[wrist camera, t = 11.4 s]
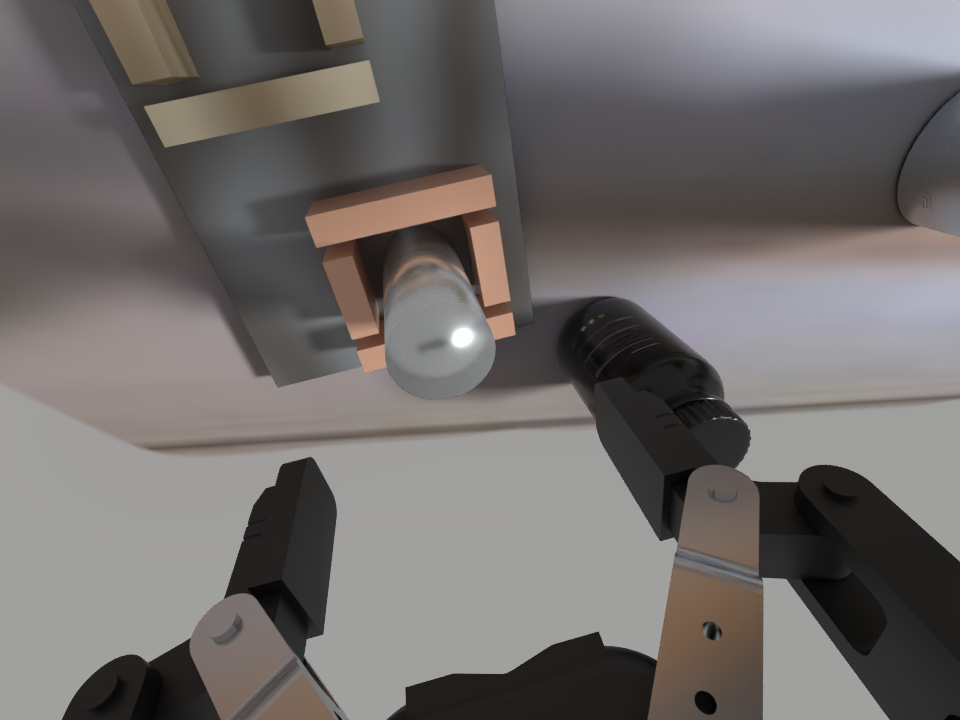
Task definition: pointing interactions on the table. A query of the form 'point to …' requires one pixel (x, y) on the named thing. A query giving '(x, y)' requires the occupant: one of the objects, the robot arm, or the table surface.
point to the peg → (432, 317)
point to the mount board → (311, 139)
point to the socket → (398, 209)
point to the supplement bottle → (651, 372)
